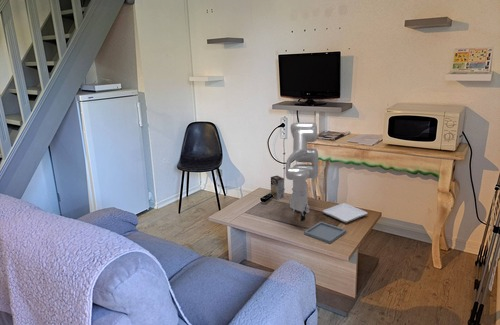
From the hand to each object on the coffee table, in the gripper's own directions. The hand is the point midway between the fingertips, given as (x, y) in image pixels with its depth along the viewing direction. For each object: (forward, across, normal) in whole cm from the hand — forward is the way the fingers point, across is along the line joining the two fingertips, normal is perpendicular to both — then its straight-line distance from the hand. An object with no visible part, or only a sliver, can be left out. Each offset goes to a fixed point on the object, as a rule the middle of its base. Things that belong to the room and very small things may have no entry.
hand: (299, 218), depth 222 cm
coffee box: (+8, -42, +30) cm, 52 cm away
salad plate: (+7, +13, +33) cm, 36 cm away
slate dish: (+6, +17, +3) cm, 18 cm away
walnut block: (+1, 0, 0) cm, 1 cm away
